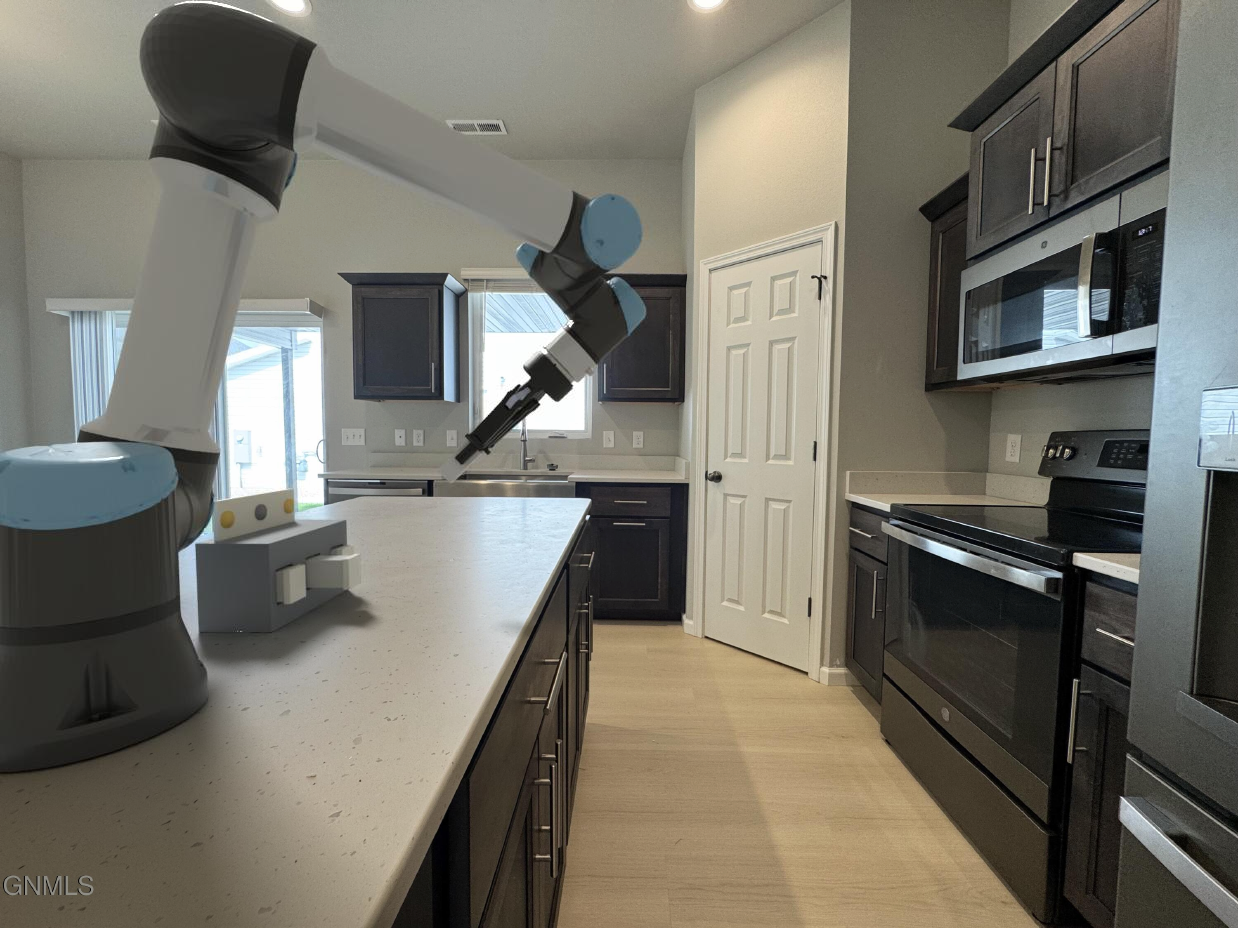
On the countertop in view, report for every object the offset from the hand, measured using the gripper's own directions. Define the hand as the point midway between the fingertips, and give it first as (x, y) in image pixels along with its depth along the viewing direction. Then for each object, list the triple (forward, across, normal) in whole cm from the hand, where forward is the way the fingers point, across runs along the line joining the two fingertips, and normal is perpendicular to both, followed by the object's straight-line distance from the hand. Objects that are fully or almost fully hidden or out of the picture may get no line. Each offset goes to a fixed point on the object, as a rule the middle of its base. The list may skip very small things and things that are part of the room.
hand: (445, 476), depth 84 cm
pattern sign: (+22, -7, +11) cm, 26 cm away
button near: (+24, -13, +2) cm, 27 cm away
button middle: (+21, -7, -1) cm, 22 cm away
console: (+28, -7, +1) cm, 28 cm away
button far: (+24, 0, +2) cm, 24 cm away
